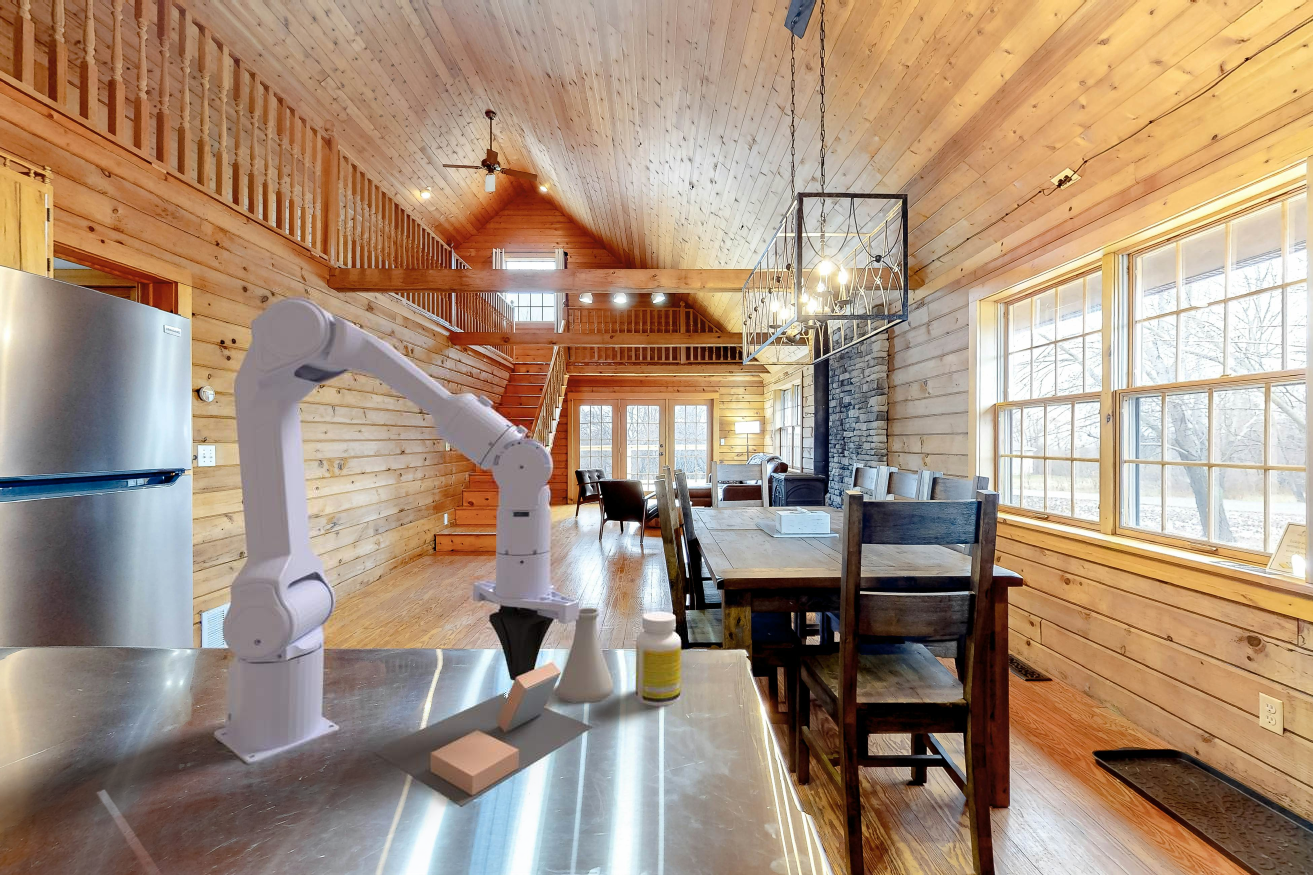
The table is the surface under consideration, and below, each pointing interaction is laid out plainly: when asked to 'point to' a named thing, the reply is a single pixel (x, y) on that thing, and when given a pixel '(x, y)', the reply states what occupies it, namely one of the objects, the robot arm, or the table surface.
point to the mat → (527, 738)
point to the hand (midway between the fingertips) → (521, 677)
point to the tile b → (528, 696)
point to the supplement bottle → (658, 660)
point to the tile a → (474, 761)
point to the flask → (585, 664)
